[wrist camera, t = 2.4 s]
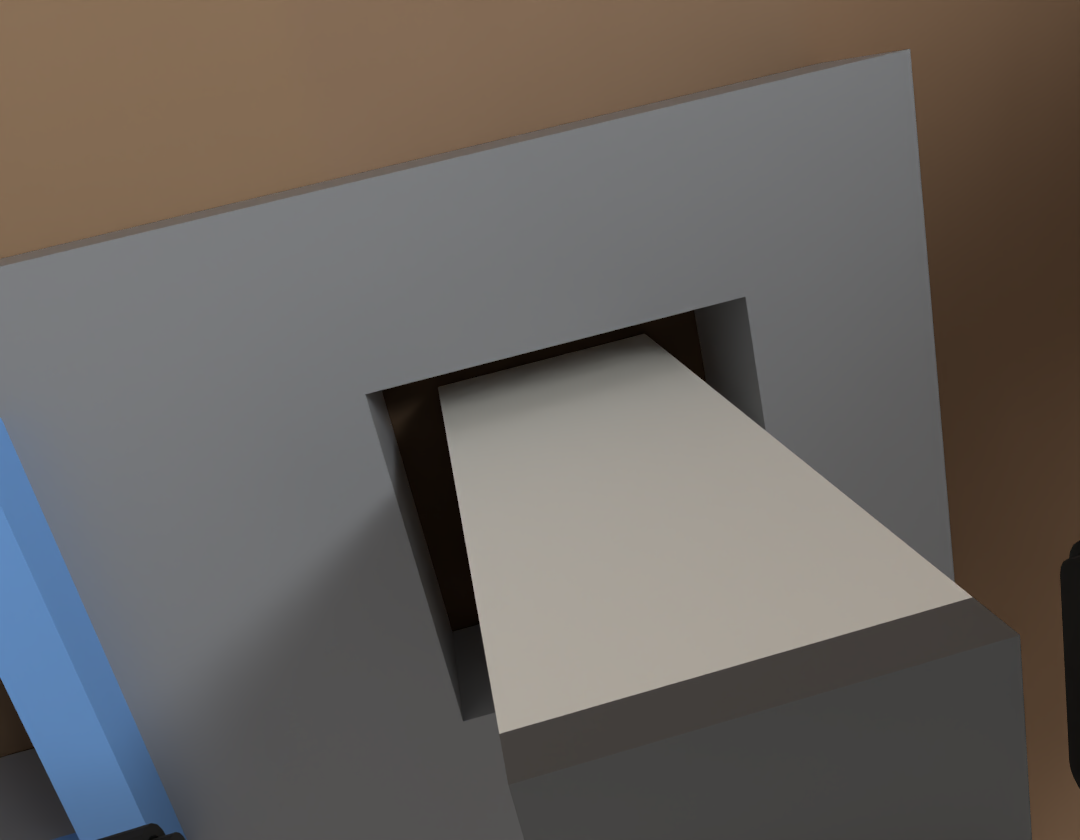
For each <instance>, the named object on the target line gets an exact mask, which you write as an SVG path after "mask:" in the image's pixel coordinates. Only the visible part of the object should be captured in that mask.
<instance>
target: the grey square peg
mask: <svg viewBox="0 0 1080 840" xmlns="http://www.w3.org/2000/svg"><path fill="white" fill-rule="evenodd" d="M438 391H439V397H440V402H441V408H442V413H443V419H444V425H445V430H446V436H447V442H448V447H449V453H450V459H451V464H452V470H453V476H454V481H455V487H456V492H457V498H458V504H459V509H460V515H461V521H462V526H463V532H464V538H465V543H466V549H467V555H468V560H469V566H470V572H471V577H472V583H473V588H474V594H475V600H476V605H477V611H478V617H479V622H480V628H481V634H482V639H483V645H484V651H485V656H486V662H487V667H488V673H489V679H490V684H491V690H492V696H493V701H494V707H495V713H496V718H497V724H498V730H499V735H500V741H501V746H502V752H503V758H504V763H505V769H506V775H507V780H508V786H509V789H510V793H511V796H512V800H513V803H514V806H515V810H516V813H517V817H518V820H519V824H520V827H521V831H522V834H523V838H524V840H1032V833H1031V816H1030V799H1029V782H1028V765H1027V747H1026V730H1025V713H1024V696H1023V679H1022V662H1021V644H1020V635H1019V634H1018V633H1017V632H1015V631H1014V630H1013V629H1012V628H1011V627H1009V626H1008V625H1007V624H1006V623H1004V622H1003V621H1002V620H1001V619H999V618H998V617H997V616H996V615H994V614H993V613H992V612H991V611H989V610H988V609H987V608H986V607H984V606H983V605H982V604H981V603H979V602H978V601H977V600H976V599H974V598H973V597H972V596H971V595H969V594H968V593H967V592H966V591H964V590H963V589H962V588H961V587H959V586H958V585H957V584H956V583H955V582H953V581H952V580H951V579H950V578H948V577H947V576H946V575H945V574H943V573H942V572H941V571H940V570H938V569H937V568H936V567H935V566H933V565H932V564H931V563H930V562H928V561H927V560H926V559H925V558H923V557H922V556H921V555H920V554H918V553H917V552H916V551H915V550H913V549H912V548H911V547H910V546H908V545H907V544H906V543H905V542H903V541H902V540H901V539H900V538H898V537H897V536H896V535H895V534H894V533H892V532H891V531H890V530H889V529H887V528H886V527H885V526H884V525H882V524H881V523H880V522H879V521H877V520H876V519H875V518H874V517H872V516H871V515H870V514H869V513H867V512H866V511H865V510H864V509H862V508H861V507H860V506H859V505H857V504H856V503H855V502H854V501H852V500H851V499H850V498H849V497H847V496H846V495H845V494H844V493H842V492H841V491H840V490H839V489H838V488H836V487H835V486H834V485H833V484H831V483H830V482H829V481H828V480H826V479H825V478H824V477H823V476H821V475H820V474H819V473H818V472H816V471H815V470H814V469H813V468H811V467H810V466H809V465H808V464H806V463H805V462H804V461H803V460H801V459H800V458H799V457H798V456H796V455H795V454H794V453H793V452H791V451H790V450H789V449H788V448H786V447H785V446H784V445H783V444H782V443H780V442H779V441H778V440H777V439H775V438H774V437H773V436H772V435H770V434H769V433H768V432H767V431H765V430H764V429H763V428H762V427H760V426H759V425H758V424H757V423H755V422H754V421H753V420H752V419H750V418H749V417H748V416H747V415H745V414H744V413H743V412H742V411H740V410H739V409H738V408H737V407H735V406H734V405H733V404H732V403H730V402H729V401H728V400H727V399H726V398H724V397H723V396H722V395H721V394H719V393H718V392H717V391H716V390H714V389H713V388H712V387H711V386H709V385H708V384H707V383H706V382H704V381H703V380H702V379H701V378H699V377H698V376H697V375H696V374H694V373H693V372H692V371H691V370H689V369H688V368H687V367H686V366H684V365H683V364H682V363H681V362H679V361H678V360H677V359H676V358H674V357H673V356H672V355H671V354H669V353H668V352H667V351H666V350H665V349H663V348H662V347H661V346H660V345H658V344H657V343H656V342H655V341H653V340H652V339H651V338H650V337H648V336H647V335H646V334H641V335H637V336H634V337H630V338H626V339H622V340H618V341H614V342H610V343H606V344H603V345H599V346H595V347H591V348H587V349H583V350H579V351H575V352H572V353H568V354H564V355H560V356H556V357H552V358H548V359H544V360H541V361H537V362H533V363H529V364H525V365H521V366H517V367H513V368H510V369H506V370H502V371H498V372H494V373H490V374H486V375H482V376H479V377H475V378H471V379H467V380H463V381H459V382H455V383H451V384H448V385H444V386H440V387H438Z"/></svg>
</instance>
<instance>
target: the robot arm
mask: <svg viewBox="0 0 1080 840" xmlns="http://www.w3.org/2000/svg"><path fill="white" fill-rule="evenodd" d="M1060 580H1061V601H1062V621H1063V641H1064V661H1065V681H1066V702H1067V722H1068V742H1069V762H1070V768H1071V771H1072V774H1073V777H1074V779H1075V781H1076V783H1077V785H1078V787H1079V788H1080V541H1078V542H1077V543H1075V544H1074V545H1073V547H1072V549H1071V551H1070V557H1069V559H1067V560H1065V561H1064V562H1063V564H1062V566H1061V571H1060ZM97 840H185V838H184V836H183V835H182V834H181V833H179V832H174V833H171V834H167V835H165V833H164V831H163V829H162V828H161V827H160V826H159V825H157V824H154V823H150V824H147V825H143V826H140V827H137V828H133V829H130V830H127V831H124V832H120V833H117V834H114V835H110V836H107V837H104V838H101V839H97Z"/></svg>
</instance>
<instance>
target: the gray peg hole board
mask: <svg viewBox="0 0 1080 840" xmlns="http://www.w3.org/2000/svg"><path fill="white" fill-rule="evenodd" d="M691 310H694V313H695V319H696V325H697V331H698V336H699V342H700V348H701V354H702V360H703V366H704V372H705V378H706V383H707V384H708V385H709V386H711V387H712V388H713V389H714V390H716V391H717V392H718V393H719V394H721V395H722V396H723V397H724V398H726V399H727V400H728V401H729V402H730V403H732V404H733V405H734V406H735V407H737V408H738V409H739V410H740V411H742V412H743V413H744V414H745V415H747V416H748V417H749V418H750V419H752V420H753V421H754V422H755V423H757V424H758V425H759V426H760V427H762V428H763V429H764V430H765V431H767V432H768V433H769V434H770V435H772V436H773V437H774V438H775V439H777V440H778V441H779V442H780V443H782V444H783V445H784V446H785V447H786V448H788V449H789V450H790V451H791V452H793V453H794V454H795V455H796V456H798V457H799V458H800V459H801V460H803V461H804V462H805V463H806V464H808V465H809V466H810V467H811V468H813V469H814V470H815V471H816V472H818V473H819V474H820V475H821V476H823V477H824V478H825V479H826V480H828V481H829V482H830V483H831V484H833V485H834V486H835V487H836V488H838V489H839V490H840V491H841V492H842V493H844V494H845V495H846V496H847V497H849V498H850V499H851V500H852V501H854V502H855V503H856V504H857V505H859V506H860V507H861V508H862V509H864V510H865V511H866V512H867V513H869V514H870V515H871V516H872V517H874V518H875V519H876V520H877V521H879V522H880V523H881V524H882V525H884V526H885V527H886V528H887V529H889V530H890V531H891V532H892V533H894V534H895V535H896V536H897V537H898V538H900V539H901V540H902V541H903V542H905V543H906V544H907V545H908V546H910V547H911V548H912V549H913V550H915V551H916V552H917V553H918V554H920V555H921V556H922V557H923V558H925V559H926V560H927V561H928V562H930V563H931V564H932V565H933V566H935V567H936V568H937V569H938V570H940V571H941V572H942V573H943V574H945V575H946V576H947V577H948V578H950V579H951V580H952V581H953V582H955V581H954V569H953V557H952V545H951V533H950V521H949V509H948V497H947V485H946V473H945V461H944V449H943V437H942V425H941V413H940V401H939V389H938V377H937V365H936V353H935V342H934V330H933V318H932V306H931V294H930V282H929V270H928V258H927V246H926V234H925V222H924V210H923V198H922V186H921V174H920V162H919V150H918V138H917V126H916V114H915V102H914V90H913V78H912V66H911V55H910V49H906V50H900V51H894V52H887V53H881V54H875V55H868V56H862V57H856V58H850V59H843V60H837V61H831V62H824V63H819V64H815V65H810V66H806V67H802V68H798V69H794V70H790V71H785V72H781V73H777V74H773V75H769V76H764V77H760V78H756V79H752V80H748V81H743V82H739V83H735V84H731V85H727V86H723V87H718V88H714V89H710V90H706V91H702V92H697V93H693V94H689V95H685V96H681V97H676V98H672V99H668V100H664V101H660V102H656V103H651V104H647V105H643V106H639V107H635V108H630V109H626V110H622V111H618V112H614V113H609V114H605V115H601V116H597V117H593V118H589V119H584V120H580V121H576V122H572V123H568V124H563V125H559V126H555V127H551V128H547V129H542V130H538V131H534V132H530V133H526V134H522V135H517V136H513V137H509V138H505V139H501V140H496V141H492V142H488V143H484V144H480V145H475V146H471V147H467V148H463V149H459V150H455V151H450V152H446V153H442V154H438V155H434V156H429V157H425V158H421V159H417V160H413V161H408V162H404V163H400V164H396V165H392V166H388V167H383V168H379V169H375V170H371V171H367V172H362V173H358V174H354V175H350V176H346V177H341V178H337V179H333V180H329V181H325V182H321V183H316V184H312V185H308V186H304V187H300V188H295V189H291V190H287V191H283V192H279V193H274V194H270V195H266V196H262V197H258V198H254V199H249V200H245V201H241V202H237V203H233V204H228V205H224V206H220V207H216V208H212V209H207V210H203V211H199V212H195V213H191V214H187V215H182V216H178V217H174V218H170V219H166V220H161V221H157V222H153V223H149V224H145V225H140V226H136V227H132V228H128V229H124V230H120V231H115V232H111V233H107V234H103V235H99V236H94V237H90V238H86V239H82V240H78V241H73V242H69V243H65V244H61V245H57V246H53V247H48V248H44V249H40V250H36V251H32V252H27V253H23V254H19V255H15V256H11V257H6V258H2V259H0V678H1V680H2V682H3V684H4V686H5V688H6V690H7V692H8V694H9V697H10V699H11V701H12V703H13V705H14V707H15V709H16V711H17V713H18V715H19V717H20V719H21V721H22V723H23V725H24V727H25V729H26V731H27V733H28V735H29V737H30V739H31V742H32V744H33V746H34V748H33V749H30V750H26V751H22V752H19V753H15V754H12V755H8V756H4V757H1V758H0V840H97V839H101V838H104V837H107V836H110V835H114V834H117V833H120V832H124V831H127V830H130V829H133V828H137V827H140V826H143V825H147V824H150V823H154V824H157V825H159V826H160V827H161V828H162V829H163V831H164V833H165V835H167V834H171V833H174V832H179V833H181V834H182V835H183V836H184V838H185V840H524V838H523V834H522V831H521V827H520V824H519V820H518V817H517V813H516V810H515V806H514V803H513V800H512V796H511V793H510V789H509V786H508V780H507V775H506V769H505V763H504V758H503V752H502V746H501V741H500V735H499V730H498V724H497V718H496V713H495V707H494V701H493V696H492V690H491V684H490V679H489V673H488V667H487V662H486V656H485V651H484V645H483V639H482V634H481V628H480V624H478V625H474V626H471V627H467V628H464V629H460V630H457V631H453V632H452V628H451V625H450V622H449V618H448V615H447V611H446V608H445V605H444V601H443V598H442V594H441V591H440V587H439V584H438V581H437V577H436V574H435V570H434V567H433V564H432V560H431V557H430V553H429V550H428V546H427V543H426V540H425V536H424V533H423V529H422V526H421V523H420V519H419V516H418V512H417V509H416V505H415V502H414V499H413V495H412V492H411V488H410V485H409V482H408V478H407V475H406V471H405V468H404V464H403V461H402V458H401V454H400V451H399V447H398V444H397V441H396V437H395V434H394V430H393V427H392V423H391V420H390V417H389V413H388V410H387V406H386V403H385V400H384V396H383V393H382V390H384V389H388V388H392V387H396V386H400V385H404V384H408V383H411V382H415V381H419V380H423V379H427V378H431V377H435V376H439V375H443V374H446V373H450V372H454V371H458V370H462V369H466V368H470V367H474V366H478V365H481V364H485V363H489V362H493V361H497V360H501V359H505V358H509V357H513V356H516V355H520V354H524V353H528V352H532V351H536V350H540V349H544V348H548V347H551V346H555V345H559V344H563V343H567V342H571V341H575V340H579V339H583V338H586V337H590V336H594V335H598V334H602V333H606V332H610V331H614V330H618V329H621V328H625V327H629V326H633V325H637V324H641V323H645V322H649V321H653V320H656V319H660V318H664V317H668V316H672V315H676V314H680V313H684V312H688V311H691Z"/></svg>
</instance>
